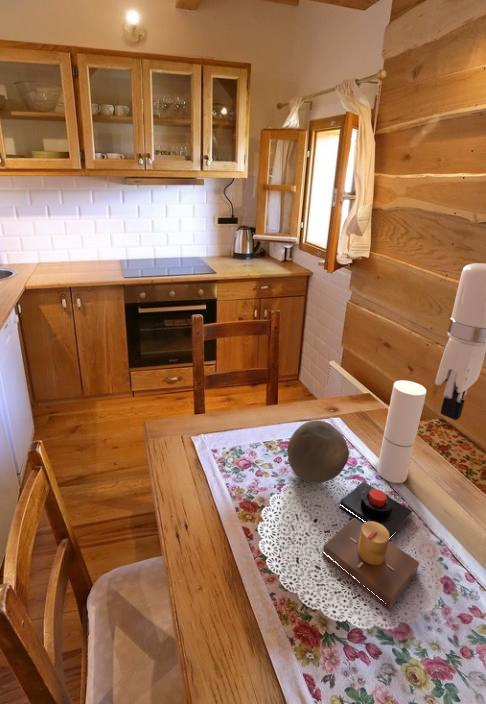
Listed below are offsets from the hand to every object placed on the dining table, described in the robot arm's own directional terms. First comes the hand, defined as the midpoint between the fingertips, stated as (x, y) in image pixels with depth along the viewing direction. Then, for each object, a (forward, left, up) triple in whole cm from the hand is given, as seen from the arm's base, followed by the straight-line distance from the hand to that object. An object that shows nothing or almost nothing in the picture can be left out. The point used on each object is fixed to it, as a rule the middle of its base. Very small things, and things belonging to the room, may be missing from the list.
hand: (450, 415), depth 82 cm
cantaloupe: (+24, +8, -27) cm, 37 cm away
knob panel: (+2, +20, -27) cm, 34 cm away
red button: (+8, +7, -23) cm, 26 cm away
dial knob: (+2, +20, -24) cm, 31 cm away
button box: (+8, +7, -27) cm, 29 cm away
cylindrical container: (+12, -9, -27) cm, 31 cm away
